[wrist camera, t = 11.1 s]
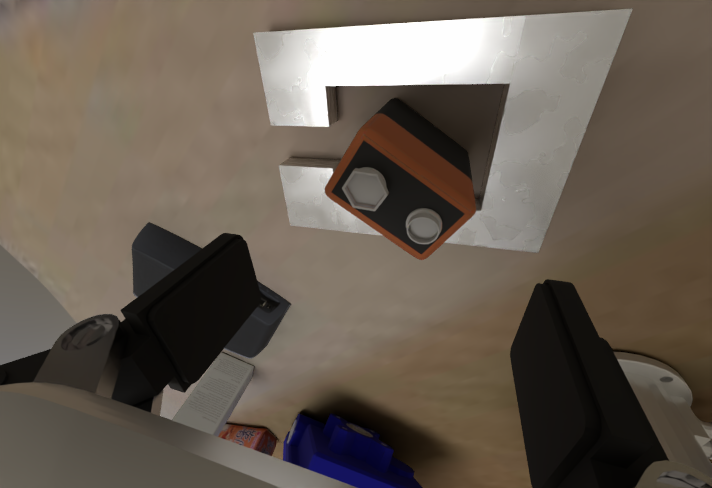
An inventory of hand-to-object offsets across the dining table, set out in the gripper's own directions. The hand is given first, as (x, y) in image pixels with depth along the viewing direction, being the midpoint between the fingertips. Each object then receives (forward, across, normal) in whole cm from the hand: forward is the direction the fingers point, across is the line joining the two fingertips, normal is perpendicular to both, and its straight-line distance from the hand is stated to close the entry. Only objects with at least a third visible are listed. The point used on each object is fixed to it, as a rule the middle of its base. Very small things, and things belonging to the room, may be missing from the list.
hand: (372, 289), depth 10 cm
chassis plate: (+15, +1, -1) cm, 15 cm away
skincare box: (+16, +27, +36) cm, 48 cm away
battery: (+15, +1, -1) cm, 15 cm away
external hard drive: (+16, +25, +19) cm, 35 cm away
